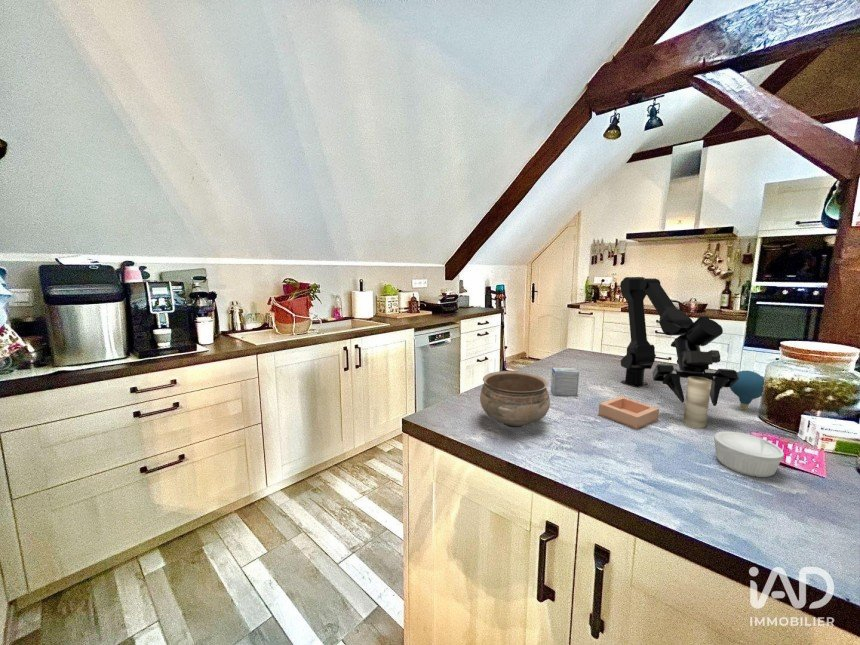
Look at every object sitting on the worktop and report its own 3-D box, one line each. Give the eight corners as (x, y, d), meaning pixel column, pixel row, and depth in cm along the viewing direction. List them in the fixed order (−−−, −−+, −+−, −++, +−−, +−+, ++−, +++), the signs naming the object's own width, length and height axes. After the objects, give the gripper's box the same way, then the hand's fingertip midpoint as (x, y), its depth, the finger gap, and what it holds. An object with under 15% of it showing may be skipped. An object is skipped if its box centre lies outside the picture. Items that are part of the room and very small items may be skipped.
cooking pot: (492, 401, 113) (493, 364, 111) (554, 411, 105) (556, 372, 103) (466, 434, 91) (466, 390, 89) (541, 450, 83) (544, 402, 81)
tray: (620, 406, 108) (621, 396, 107) (658, 420, 98) (659, 408, 98) (598, 414, 102) (599, 403, 102) (636, 429, 93) (637, 417, 92)
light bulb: (753, 405, 108) (759, 368, 106) (769, 417, 100) (775, 376, 98) (720, 402, 110) (725, 366, 108) (733, 413, 103) (739, 374, 101)
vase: (688, 419, 99) (693, 375, 97) (709, 425, 95) (715, 380, 93) (679, 423, 97) (684, 378, 94) (700, 430, 92) (706, 383, 90)
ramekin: (795, 483, 70) (799, 459, 69) (732, 478, 72) (735, 454, 71) (755, 454, 81) (758, 433, 80) (701, 450, 83) (703, 429, 82)
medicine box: (573, 391, 121) (575, 367, 119) (577, 396, 116) (579, 371, 115) (550, 391, 122) (551, 367, 120) (553, 395, 117) (554, 371, 116)
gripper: (659, 336, 99) (666, 386, 90) (740, 340, 92) (757, 395, 84) (649, 356, 107) (655, 404, 99) (723, 361, 101) (736, 412, 93)
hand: (698, 403), depth 93 cm, fingers open, 7 cm apart
